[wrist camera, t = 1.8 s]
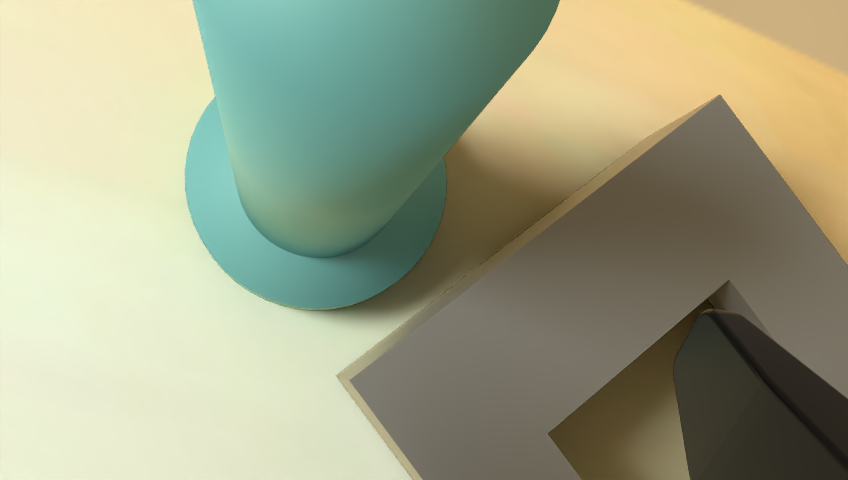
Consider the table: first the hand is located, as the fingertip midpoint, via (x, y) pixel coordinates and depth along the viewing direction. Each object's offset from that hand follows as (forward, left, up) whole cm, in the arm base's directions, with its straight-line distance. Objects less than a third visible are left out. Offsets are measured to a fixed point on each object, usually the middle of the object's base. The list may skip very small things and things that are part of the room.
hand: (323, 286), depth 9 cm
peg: (+4, -1, -11) cm, 12 cm away
